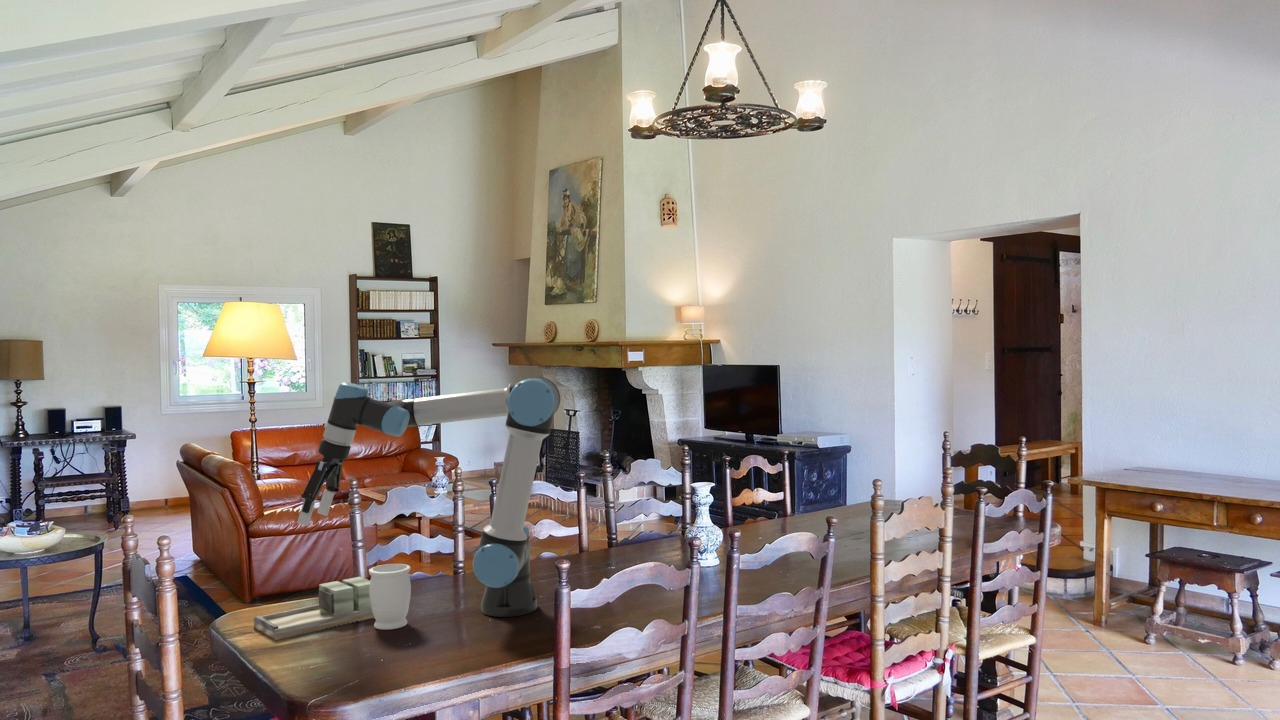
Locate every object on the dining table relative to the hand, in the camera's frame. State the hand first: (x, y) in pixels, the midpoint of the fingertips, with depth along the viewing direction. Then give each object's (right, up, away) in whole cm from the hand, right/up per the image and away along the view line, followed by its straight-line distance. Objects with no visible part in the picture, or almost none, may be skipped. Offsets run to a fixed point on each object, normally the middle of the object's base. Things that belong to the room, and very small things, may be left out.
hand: (312, 519), depth 237 cm
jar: (+20, -28, -1) cm, 34 cm away
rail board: (0, -28, +4) cm, 28 cm away
